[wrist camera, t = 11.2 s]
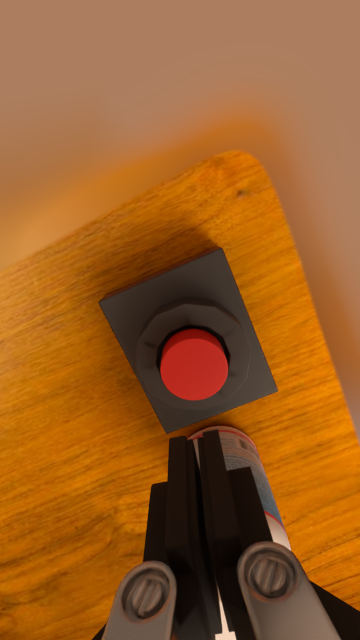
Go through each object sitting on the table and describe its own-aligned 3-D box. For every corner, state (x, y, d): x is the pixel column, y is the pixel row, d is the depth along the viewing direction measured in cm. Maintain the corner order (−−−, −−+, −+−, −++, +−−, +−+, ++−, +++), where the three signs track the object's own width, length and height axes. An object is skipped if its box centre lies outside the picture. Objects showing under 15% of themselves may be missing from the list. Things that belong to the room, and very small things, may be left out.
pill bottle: (166, 436, 25) (157, 601, 14) (244, 412, 24) (298, 564, 13) (192, 497, 26) (202, 688, 15) (265, 476, 26) (329, 659, 15)
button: (151, 342, 19) (148, 354, 17) (209, 318, 18) (213, 327, 17) (177, 394, 20) (176, 410, 18) (232, 372, 19) (238, 386, 17)
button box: (105, 294, 22) (89, 309, 18) (217, 245, 21) (226, 249, 17) (167, 416, 24) (165, 452, 20) (269, 376, 23) (287, 406, 19)
